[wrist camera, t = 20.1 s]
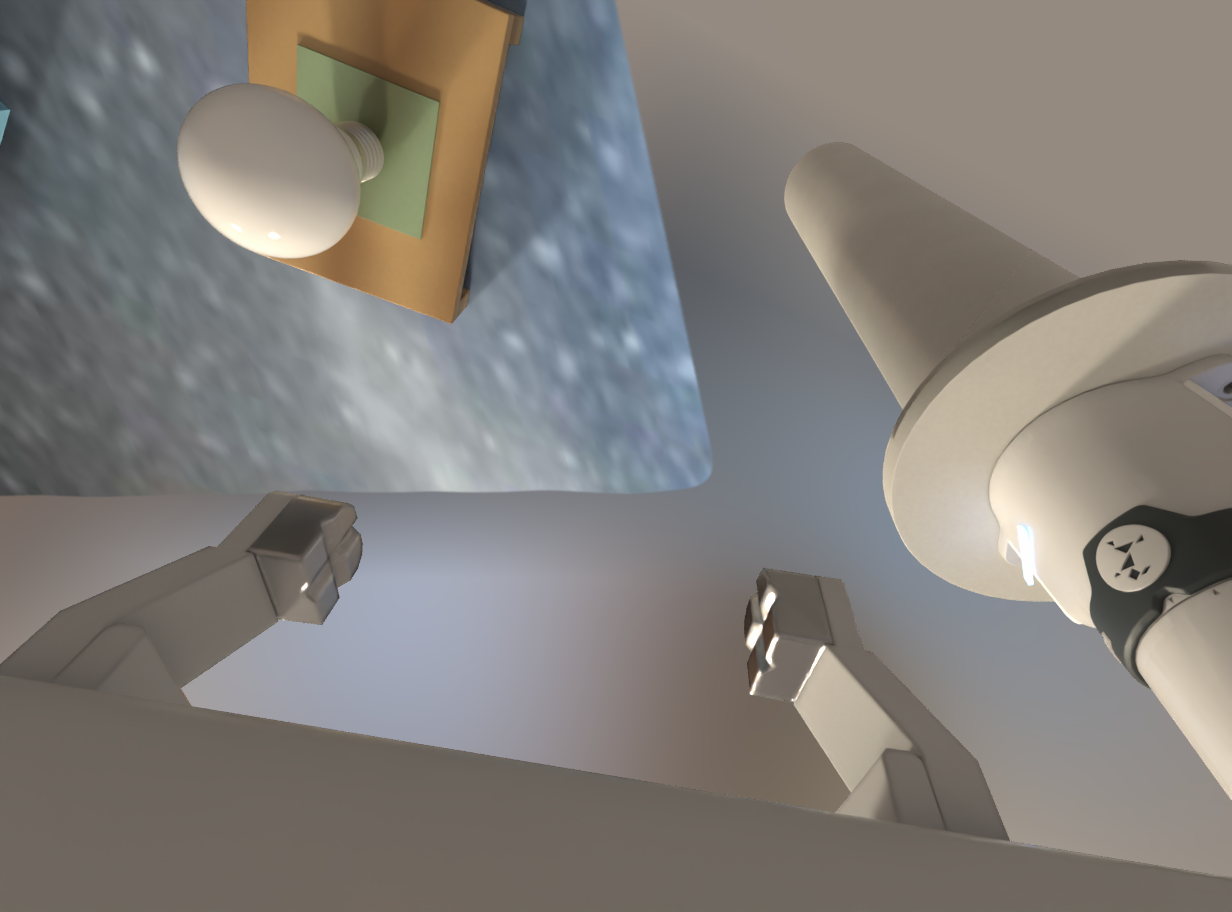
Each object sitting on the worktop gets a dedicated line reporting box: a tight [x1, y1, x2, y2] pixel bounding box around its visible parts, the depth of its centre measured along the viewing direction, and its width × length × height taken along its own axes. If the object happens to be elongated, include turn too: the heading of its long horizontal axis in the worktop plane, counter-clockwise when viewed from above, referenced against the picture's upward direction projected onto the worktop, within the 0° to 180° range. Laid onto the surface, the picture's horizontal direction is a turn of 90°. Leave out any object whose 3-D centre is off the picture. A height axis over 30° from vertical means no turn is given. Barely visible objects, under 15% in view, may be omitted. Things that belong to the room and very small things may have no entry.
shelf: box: [246, 0, 524, 324], centre depth 31 cm, size 12×16×3 cm
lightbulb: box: [177, 83, 384, 259], centre depth 25 cm, size 6×6×11 cm
